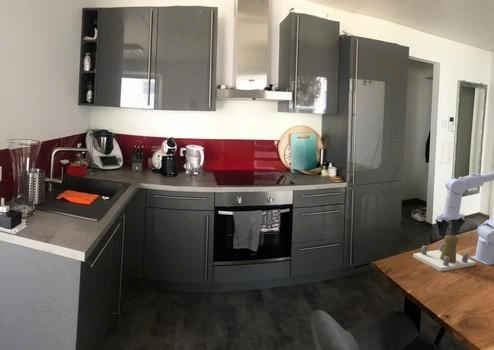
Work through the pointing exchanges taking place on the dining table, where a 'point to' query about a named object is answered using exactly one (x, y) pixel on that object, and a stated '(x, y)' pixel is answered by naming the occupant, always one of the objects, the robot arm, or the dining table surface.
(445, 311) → the dining table surface
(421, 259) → the peg board
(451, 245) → the olive rounded cylinder
